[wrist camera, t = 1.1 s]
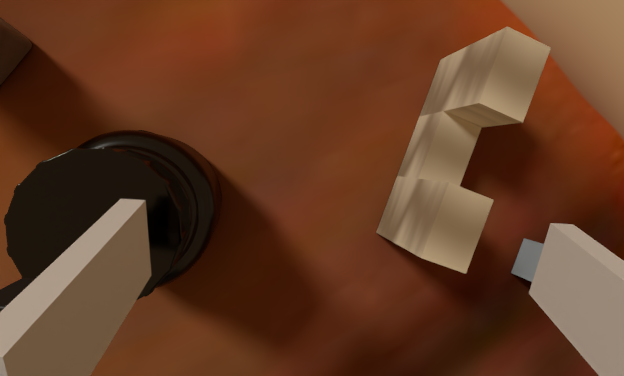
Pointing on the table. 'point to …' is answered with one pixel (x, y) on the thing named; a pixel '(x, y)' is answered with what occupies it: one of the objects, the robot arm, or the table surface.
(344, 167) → the table surface
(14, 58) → the wooden block
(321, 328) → the table surface
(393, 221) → the slotted board
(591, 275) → the robot arm
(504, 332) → the table surface
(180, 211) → the ink bottle
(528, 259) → the slotted plate
